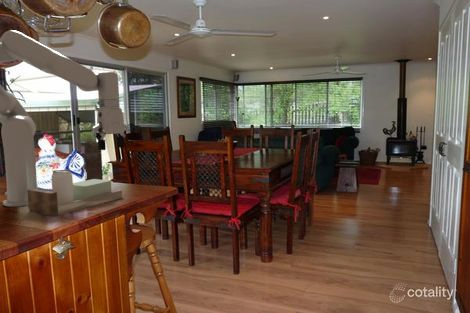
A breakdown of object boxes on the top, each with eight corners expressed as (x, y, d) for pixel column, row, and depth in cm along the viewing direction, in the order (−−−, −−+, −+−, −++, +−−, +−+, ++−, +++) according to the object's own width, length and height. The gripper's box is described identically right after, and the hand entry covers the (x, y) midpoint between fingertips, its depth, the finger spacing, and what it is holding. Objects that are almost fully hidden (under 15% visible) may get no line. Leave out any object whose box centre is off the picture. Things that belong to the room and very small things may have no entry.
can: (66, 208, 123) (64, 172, 122) (49, 207, 124) (46, 172, 123) (77, 203, 130) (76, 169, 128) (61, 202, 131) (59, 169, 129)
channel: (28, 212, 122) (27, 189, 121) (100, 194, 149) (99, 176, 148) (52, 216, 117) (51, 193, 116) (122, 197, 143) (121, 178, 142)
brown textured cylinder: (90, 183, 172) (88, 140, 170) (105, 183, 172) (103, 140, 170) (83, 186, 165) (80, 141, 162) (99, 186, 164) (97, 141, 162)
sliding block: (68, 199, 134) (67, 184, 133) (94, 193, 144) (94, 178, 144) (85, 202, 130) (84, 186, 129) (111, 195, 140) (111, 180, 139)
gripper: (98, 104, 133) (101, 151, 135) (132, 104, 148) (134, 146, 150) (84, 104, 137) (87, 150, 139) (119, 104, 152) (121, 146, 154)
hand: (111, 148), depth 144 cm, fingers open, 9 cm apart
